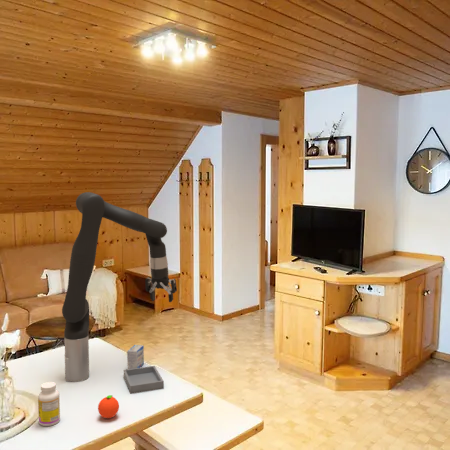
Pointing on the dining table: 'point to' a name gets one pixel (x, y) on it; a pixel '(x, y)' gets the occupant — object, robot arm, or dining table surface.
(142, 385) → the tray
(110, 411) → the clementine
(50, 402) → the supplement bottle
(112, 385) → the dining table surface
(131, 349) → the medicine box
